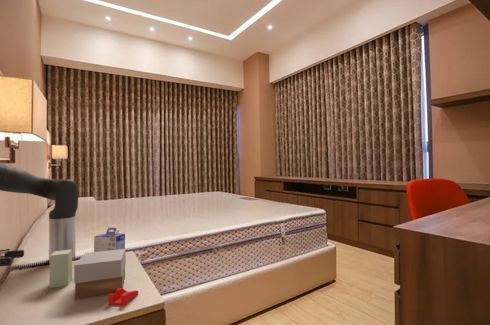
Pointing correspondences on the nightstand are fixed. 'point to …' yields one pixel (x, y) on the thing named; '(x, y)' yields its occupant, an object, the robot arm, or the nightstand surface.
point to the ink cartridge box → (109, 241)
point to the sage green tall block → (60, 268)
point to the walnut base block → (98, 287)
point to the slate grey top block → (100, 265)
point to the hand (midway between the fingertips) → (17, 257)
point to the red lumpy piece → (121, 297)
